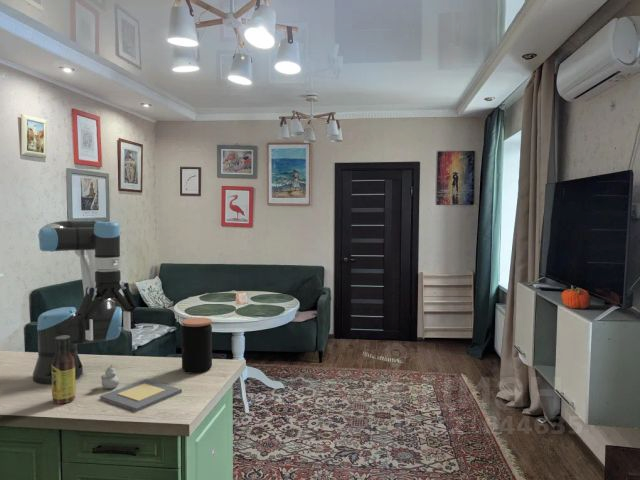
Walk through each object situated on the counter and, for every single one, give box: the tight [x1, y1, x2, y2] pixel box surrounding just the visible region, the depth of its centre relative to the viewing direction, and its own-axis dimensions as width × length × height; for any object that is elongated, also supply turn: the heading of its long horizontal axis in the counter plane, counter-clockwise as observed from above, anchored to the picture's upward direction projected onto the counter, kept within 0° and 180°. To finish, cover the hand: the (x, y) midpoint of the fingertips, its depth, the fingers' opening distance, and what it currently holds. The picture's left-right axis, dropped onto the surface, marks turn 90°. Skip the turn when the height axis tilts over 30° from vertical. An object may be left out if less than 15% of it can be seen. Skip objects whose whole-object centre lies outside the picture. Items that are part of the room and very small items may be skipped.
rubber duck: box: [100, 364, 120, 389], centre depth 152 cm, size 5×7×8 cm
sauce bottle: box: [51, 335, 77, 405], centre depth 140 cm, size 7×6×20 cm
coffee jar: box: [181, 317, 213, 374], centre depth 170 cm, size 11×11×18 cm
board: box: [99, 378, 183, 413], centre depth 145 cm, size 17×17×1 cm
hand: (108, 335), depth 151 cm, fingers open, 13 cm apart
